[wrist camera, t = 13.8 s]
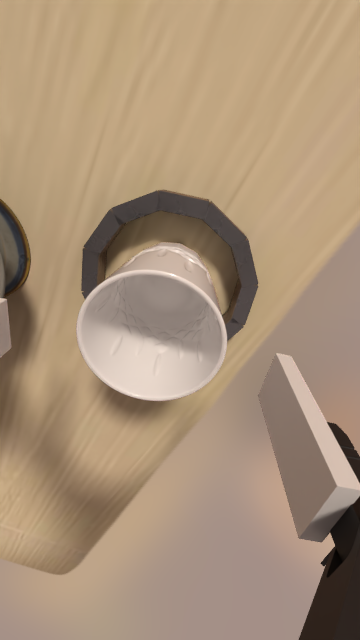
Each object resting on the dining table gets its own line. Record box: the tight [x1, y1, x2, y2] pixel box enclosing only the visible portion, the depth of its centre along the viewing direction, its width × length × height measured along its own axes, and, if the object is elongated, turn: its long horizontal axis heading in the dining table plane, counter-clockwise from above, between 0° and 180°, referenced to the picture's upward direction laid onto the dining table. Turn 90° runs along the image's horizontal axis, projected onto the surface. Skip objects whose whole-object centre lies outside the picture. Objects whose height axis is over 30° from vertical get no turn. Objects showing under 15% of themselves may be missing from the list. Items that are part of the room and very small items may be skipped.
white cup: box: [76, 242, 227, 401], centre depth 19 cm, size 8×8×10 cm
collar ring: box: [81, 190, 258, 341], centre depth 22 cm, size 13×13×2 cm
